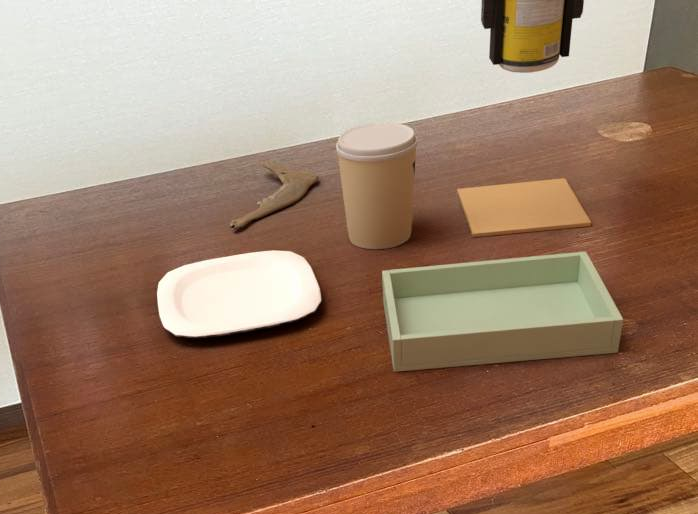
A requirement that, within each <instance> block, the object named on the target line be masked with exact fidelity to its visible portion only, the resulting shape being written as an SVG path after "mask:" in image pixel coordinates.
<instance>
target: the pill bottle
mask: <svg viewBox="0 0 698 514" xmlns="http://www.w3.org/2000/svg"><path fill="white" fill-rule="evenodd" d="M563 10H564V0H504V7H503V27H502V46H501V64H498V66H499V67H500V68H501V69H502V70H504V71H507V72H511V73H522V74H526V73H529V74H530V73H536V72H541V71H545V70H548V69H550V68H552V67H554V66H555V65H556V64H557V63H558V62H559V59H560V43H561V32H562V21H563Z"/></svg>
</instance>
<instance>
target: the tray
mask: <svg viewBox="0 0 698 514" xmlns="http://www.w3.org/2000/svg"><path fill="white" fill-rule="evenodd" d="M597 270H598V269H596V267H595V265H594V263H593V261H592V259H591V258H590V256H589V254H588V251H575V252H566V253H565V252H563V253H555V254H546V255H545V254H544V255H534V256H533V255H532V256H523V257H512V258H502V259H491V260H479V261H469V262H459V263H449V264H437V265H427V266H416V267H407V268H405V267H404V268H395V269H387V270H382V272H381V280H382V281H381V282H382V302H383V303H382V304H383V309H384V317H385V322H386V330H387V337H388V342H389V349H390V356H391V362H392V370H393V373H397V372H408V371H409V372H410V371H420V370H421V371H422V370H432V369H443V368H445V369H446V368H456V367H467V366H478V365H490V364H501V363H514V362H523V361H524V362H525V361H537V360H548V359H549V360H550V359H559V358H561V359H563V358H571V357H572V358H573V357H584V356H595V355H606V354H607V355H608V354H618V353H619V348H620V343H621V337H622V331H623V325H624V318H623V316H622V314H621V312H620V310H619V309H618V307H617V305H616V303H615V301H614V299H613V297H612V296H611V294H610V291H608V289H607V287H606V285H605V283H604V281H603V280H602V277H601V276H600V274H599V272H598V271H597Z"/></svg>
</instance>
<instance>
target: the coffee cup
mask: <svg viewBox="0 0 698 514" xmlns="http://www.w3.org/2000/svg"><path fill="white" fill-rule="evenodd" d="M417 147H418V136H417V135H416V133H415V131H414V129H413V128H412V127H411V126H408V125H406V124H402V123H398V122H371V123H365V124H361V125H357V126H354V127H351V128H349V129H346V130H345V131H343V132H342V133H340V135H339V136H338V139H337V142H336V145H335V151H336V153H337V158H338V167H339V173H340V174H339V176H340V182H341V190H342V191H341V192H342V198H343V205H344V213H345V220H346V227H347V228H346V229H347V236H348V239H349V242H350V244H352V245H354V246H355V247H357V248H361V249H365V250H386V249H391V248H394V247H398V246H401V245H402V244H404V243H405V242H407V241H408V240H409V239H410V237H411V234H412V225H413V212H414V210H413V209H414V195H415V175H416V157H417V156H416V154H417Z"/></svg>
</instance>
